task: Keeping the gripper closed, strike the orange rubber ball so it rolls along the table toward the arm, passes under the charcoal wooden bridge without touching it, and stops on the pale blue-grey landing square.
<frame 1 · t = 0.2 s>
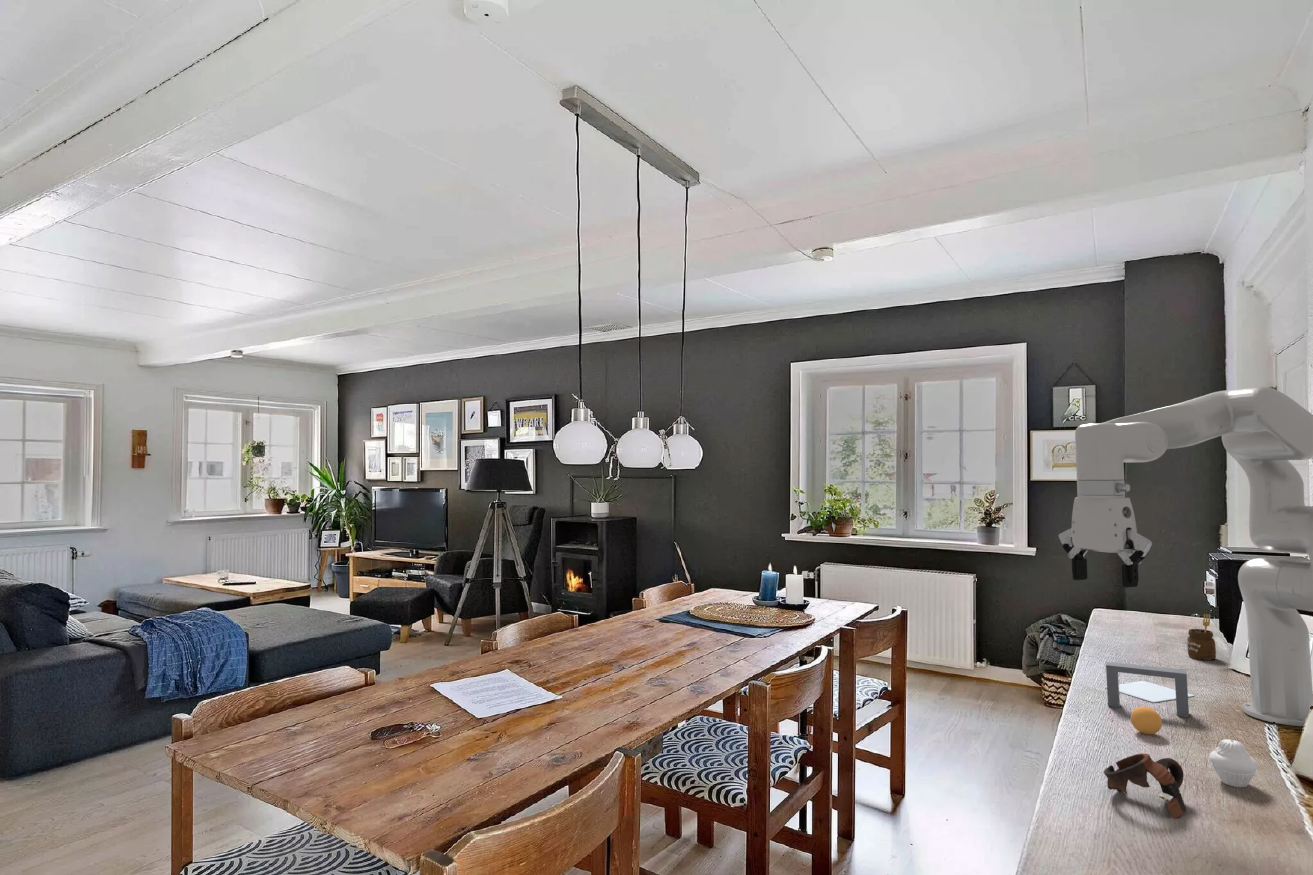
hand: (1104, 583, 135), 30 cm above the table, tool pointing down, fingers open, 9 cm apart
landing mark: (1148, 691, 165), on the table
ball: (1146, 720, 140), on the table
broken clay pot: (1151, 804, 112), on the table
bridge: (1147, 709, 153), on the table
muffin: (1234, 784, 118), on the table
utensil holder: (1202, 658, 191), on the table
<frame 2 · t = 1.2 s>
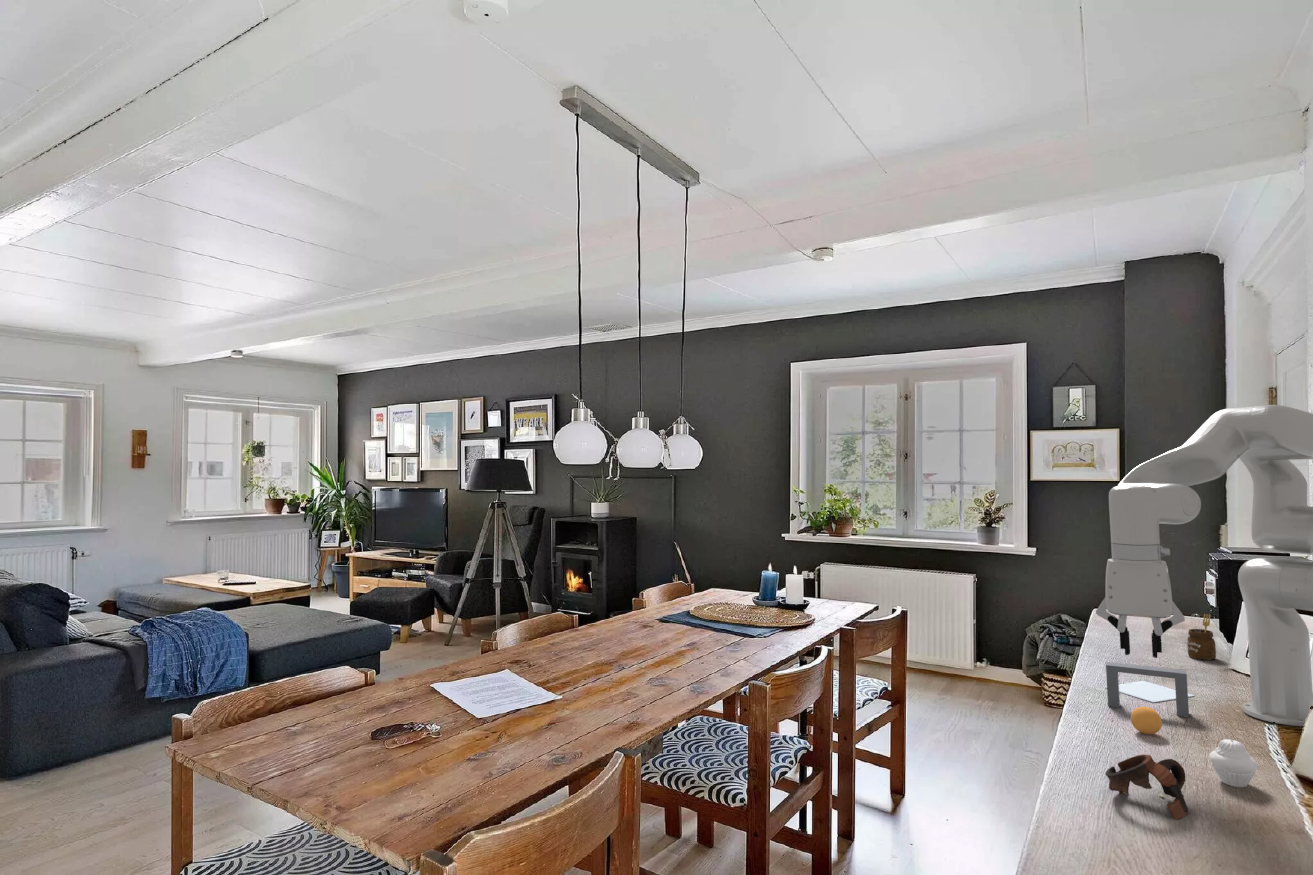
hand: (1141, 653, 133), 17 cm above the table, tool pointing down, fingers open, 3 cm apart
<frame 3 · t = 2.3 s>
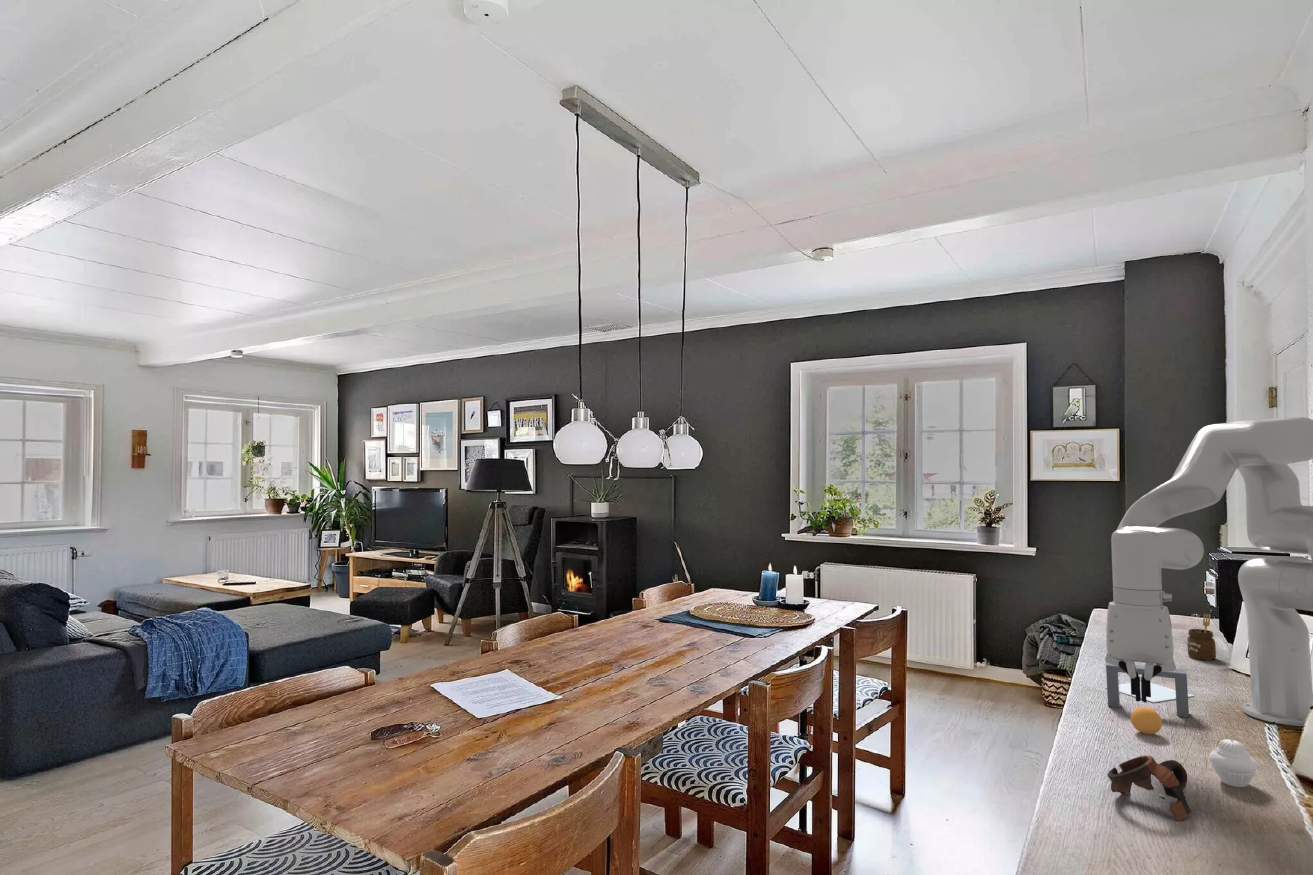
hand: (1141, 699, 132), 9 cm above the table, tool pointing down, fingers closed
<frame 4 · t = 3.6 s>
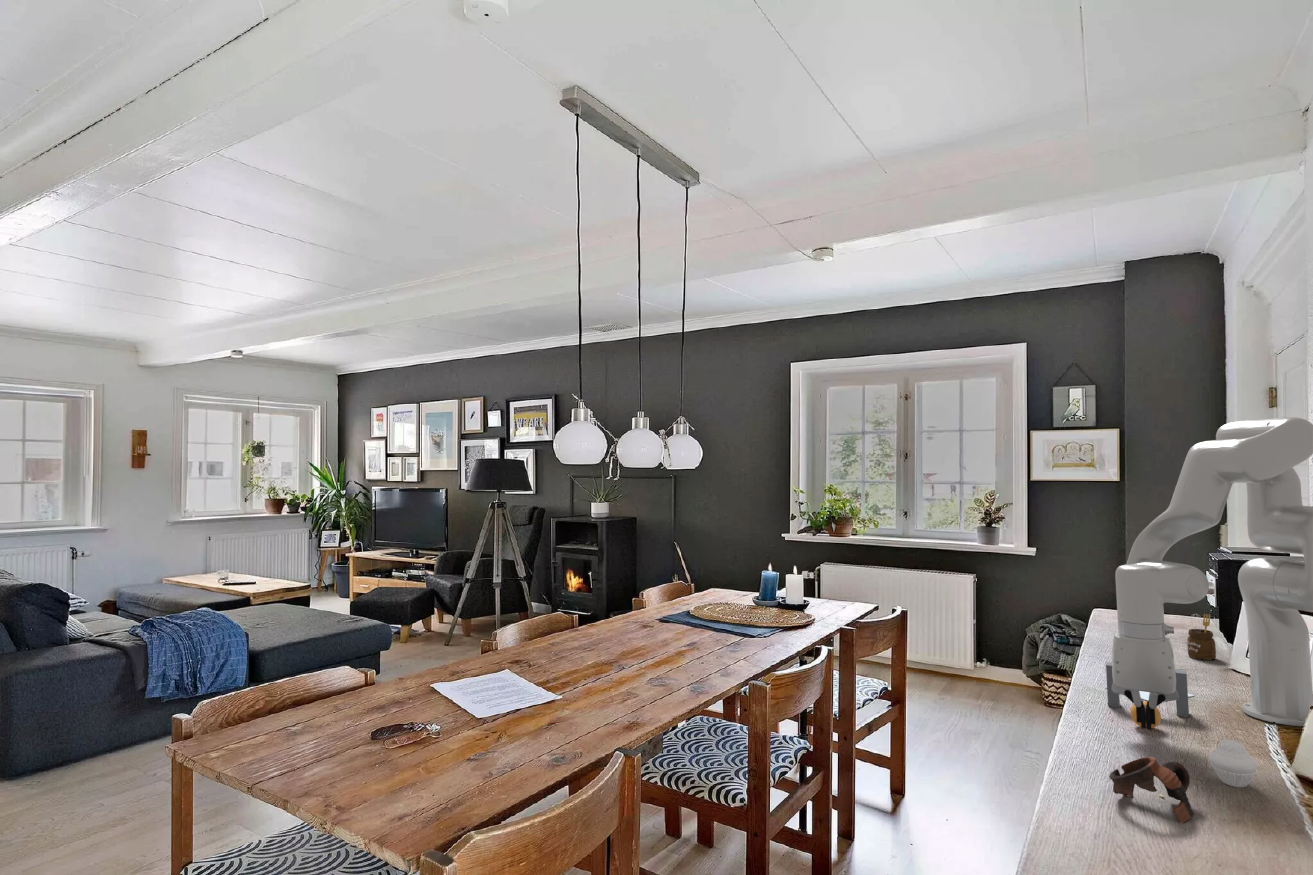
hand: (1146, 726, 140), 1 cm above the table, tool pointing down, fingers closed
ball: (1145, 714, 143), on the table
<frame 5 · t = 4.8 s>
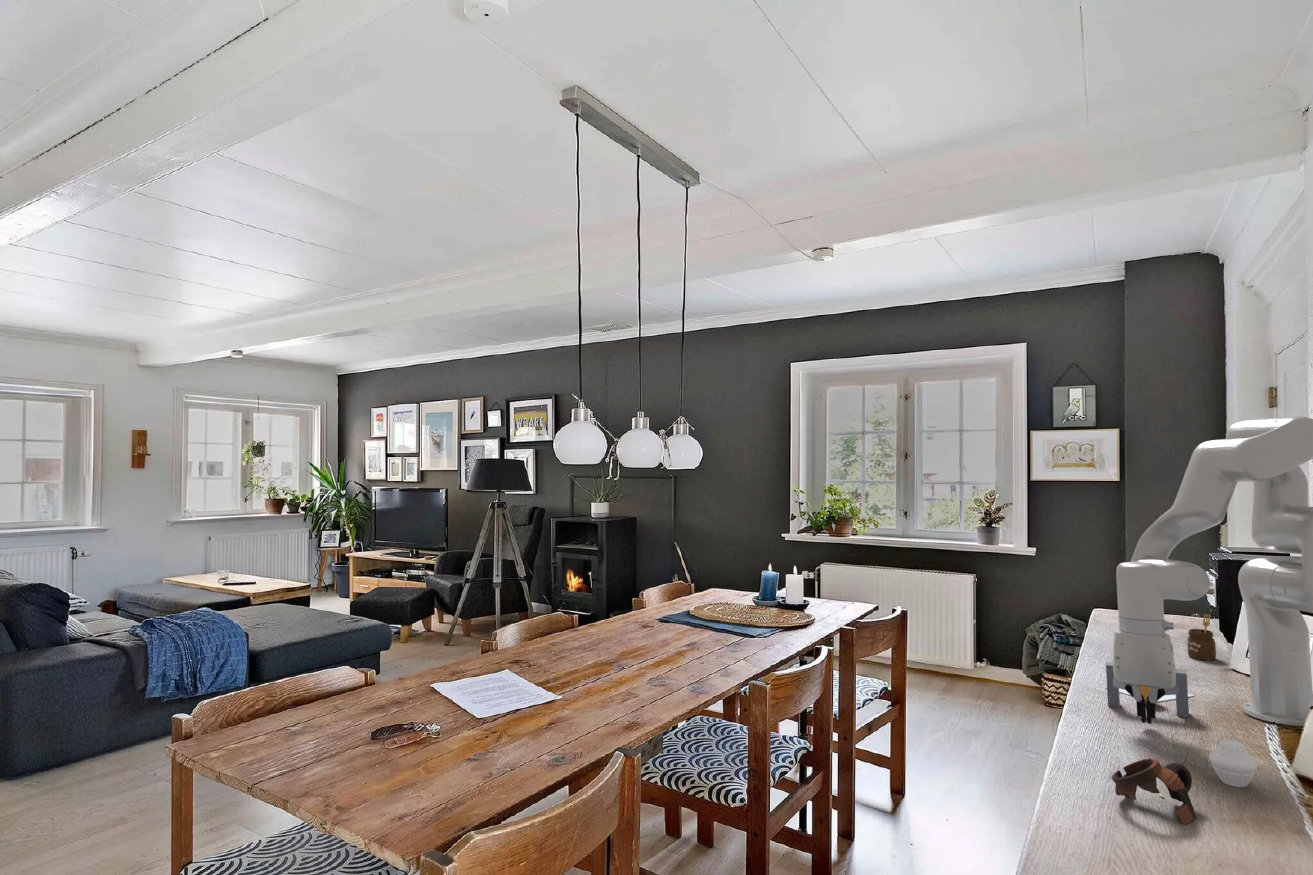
hand: (1146, 721, 143), 1 cm above the table, tool pointing down, fingers closed
ball: (1146, 691, 157), on the table
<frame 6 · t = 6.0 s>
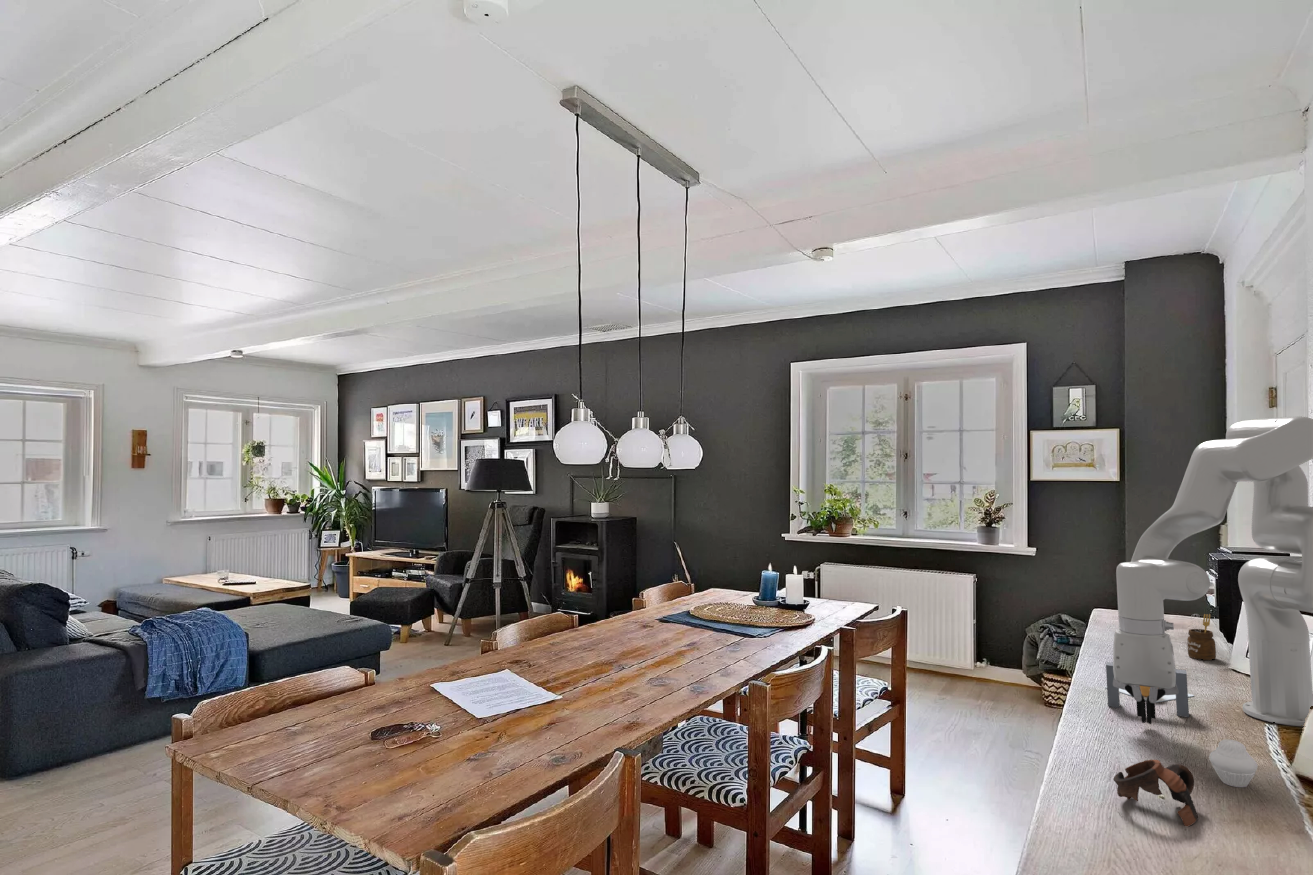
hand: (1146, 721, 143), 1 cm above the table, tool pointing down, fingers closed
ball: (1147, 685, 162), on the table
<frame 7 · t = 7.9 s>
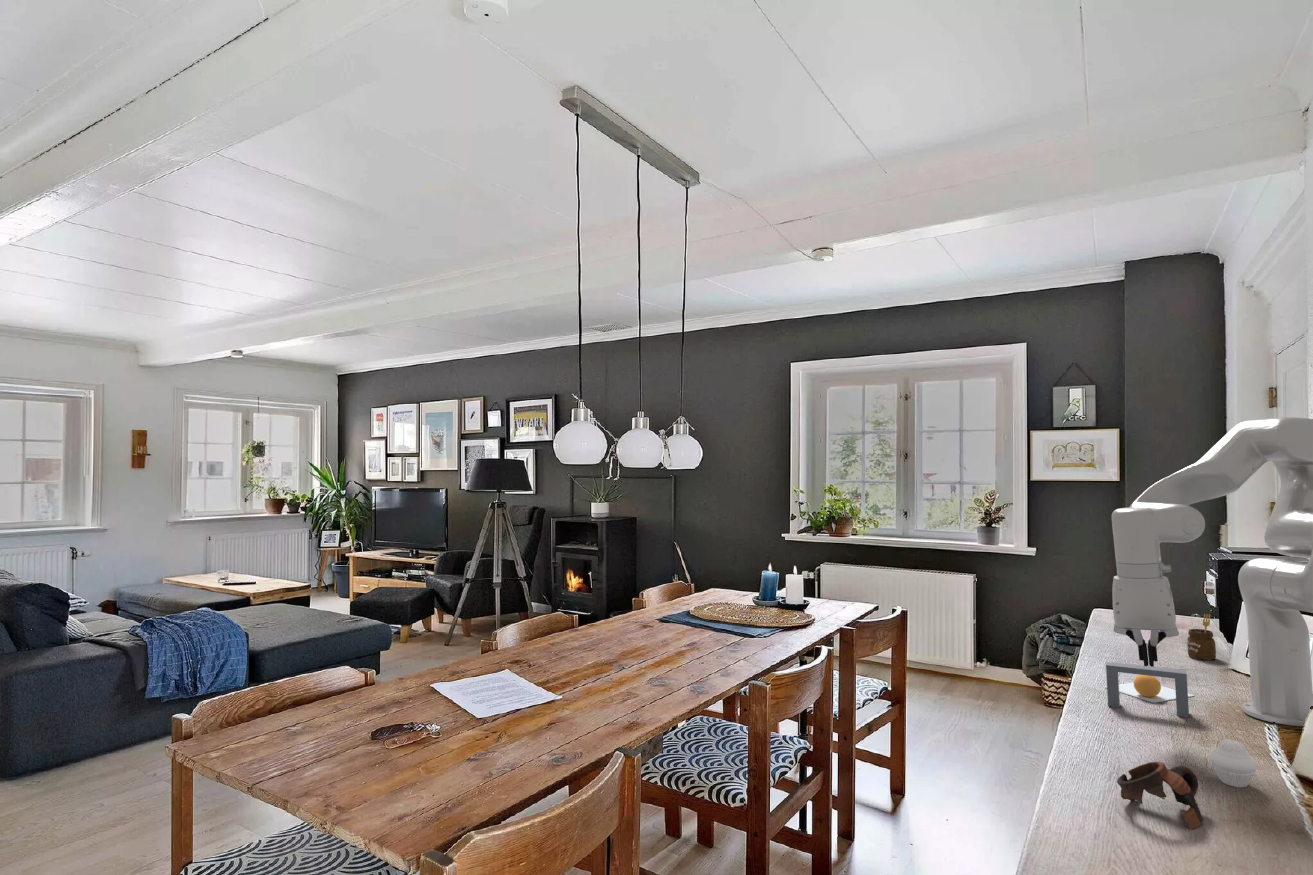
hand: (1149, 664, 143), 12 cm above the table, tool pointing down, fingers closed
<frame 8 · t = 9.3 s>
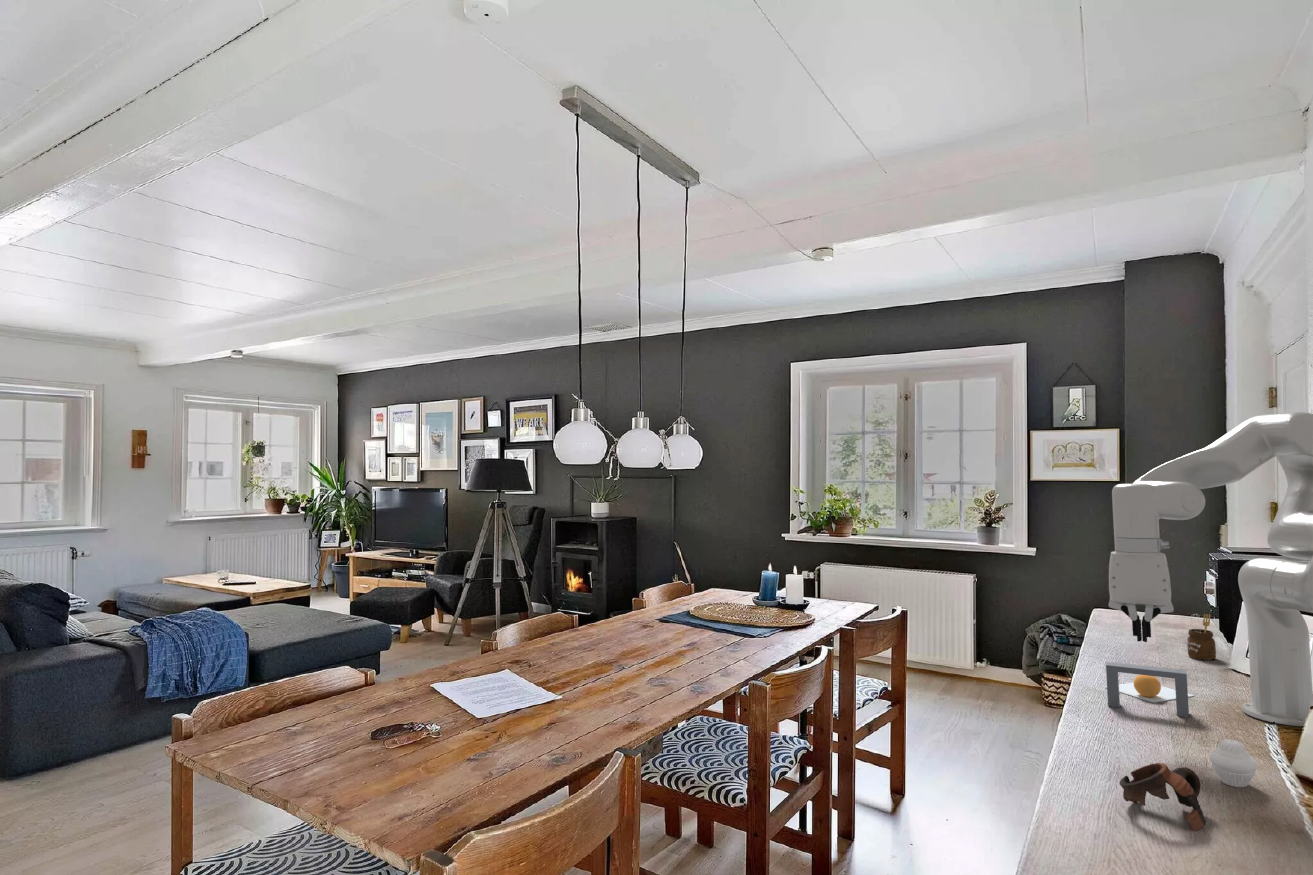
hand: (1142, 640, 143), 17 cm above the table, tool pointing down, fingers closed
at the end: ball 4.1 cm from the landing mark (horizontally); ball never touched bridge; ball at rest at the end (0.0 cm/s) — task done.
